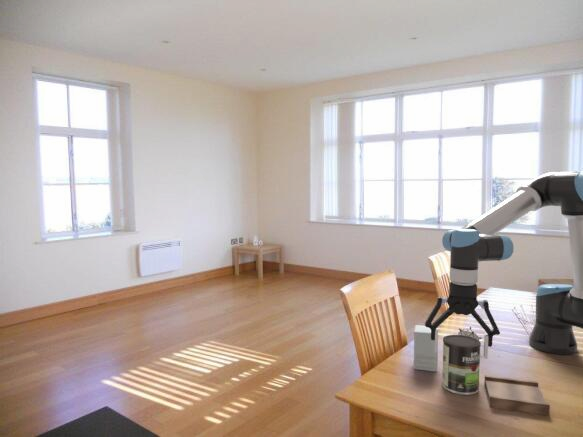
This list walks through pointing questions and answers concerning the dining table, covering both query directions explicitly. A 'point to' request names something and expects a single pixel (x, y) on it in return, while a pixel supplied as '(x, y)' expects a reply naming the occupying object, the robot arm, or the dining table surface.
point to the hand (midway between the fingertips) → (460, 353)
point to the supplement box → (424, 349)
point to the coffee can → (461, 364)
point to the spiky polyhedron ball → (468, 333)
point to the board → (515, 395)
